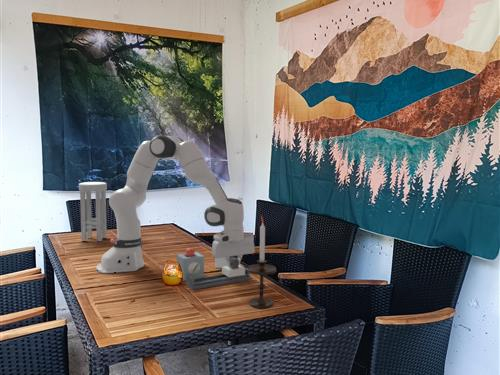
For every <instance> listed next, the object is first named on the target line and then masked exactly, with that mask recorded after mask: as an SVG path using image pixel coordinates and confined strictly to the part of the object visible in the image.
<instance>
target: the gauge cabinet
mask: <svg viewBox="0 0 500 375" xmlns="http://www.w3.org/2000/svg"><path fill="white" fill-rule="evenodd" d="M177 262H178V263H179V264H180V266H181V269H182V273H183V280H182V281H183V282H184V281H185V282H186V275H187V274H188V275H190V276H191V277H193V278H194V279H195V278H201V277H205V255H203V254H201V253H199V252H197V251H195V256H193V257H186V252H185V253H177V254H176V263H177Z"/></svg>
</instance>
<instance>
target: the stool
mask: <svg viewBox="0 0 500 375" xmlns="http://www.w3.org/2000/svg"><path fill="white" fill-rule="evenodd" d="M78 190H79V195H80V196H79V197H80V198H79V201H80V233H81V234H80V236H81V242H82V241H86V240H87V241H88V239H87V237H92V238H93V229H94V230H96V231H95V232H96V242H97V241H103V239H102V238H106V237H107V236H108V235H107V234H108V232H107V231H108V230H107V194H106V193H107V192H106V191H107V190H108V184H107V182H104V181H103V182H102V181H87V182H85V181H84V182H81V183H78ZM92 192H94V193H95V218H93V216H92V213H93V212H92ZM107 238H108V237H107ZM107 238H106V239H107ZM87 241H86V242H87Z"/></svg>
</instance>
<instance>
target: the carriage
mask: <svg viewBox="0 0 500 375" xmlns="http://www.w3.org/2000/svg"><path fill="white" fill-rule="evenodd" d="M229 261H230V262H232V263H231V266H223V267H222V268H221V274H224V275H226V276H228V277H235V276H241V275H245V268H246V267H245V266H243V265H241V264H240V265H239V259H238V257H237V258H236V256H233V258H229ZM242 266H243V267H242ZM244 267H245V268H244Z"/></svg>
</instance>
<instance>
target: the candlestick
mask: <svg viewBox="0 0 500 375" xmlns="http://www.w3.org/2000/svg"><path fill="white" fill-rule="evenodd" d="M260 220H261V226H259V259H258V260H256V263H254V264H251V265H248V266H247V269H248V272H250V274H252V275H256V276H257V275H259V283H258V284H257V287H258V289H259V290H258V291H257V293H259V297H255V298H251V299H250V300H249V306H250V307H252V308H254V309H259V310H264V309H269V308H272V307H273V305H274V301H273V300H272V299H270V298H267V297H264V294H265V291H266V290H264V289H265V287H266V284H265V283H264V276H268V275H273V274H275V273H276V272H277V268H276V267H277V266H274V265H273V264H268V263H267V262H268V260H265V254H266V253H265V252H266V250H265V249H266V248H265V246H266V226H265V224H264V219H263V216H262V215H260Z"/></svg>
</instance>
